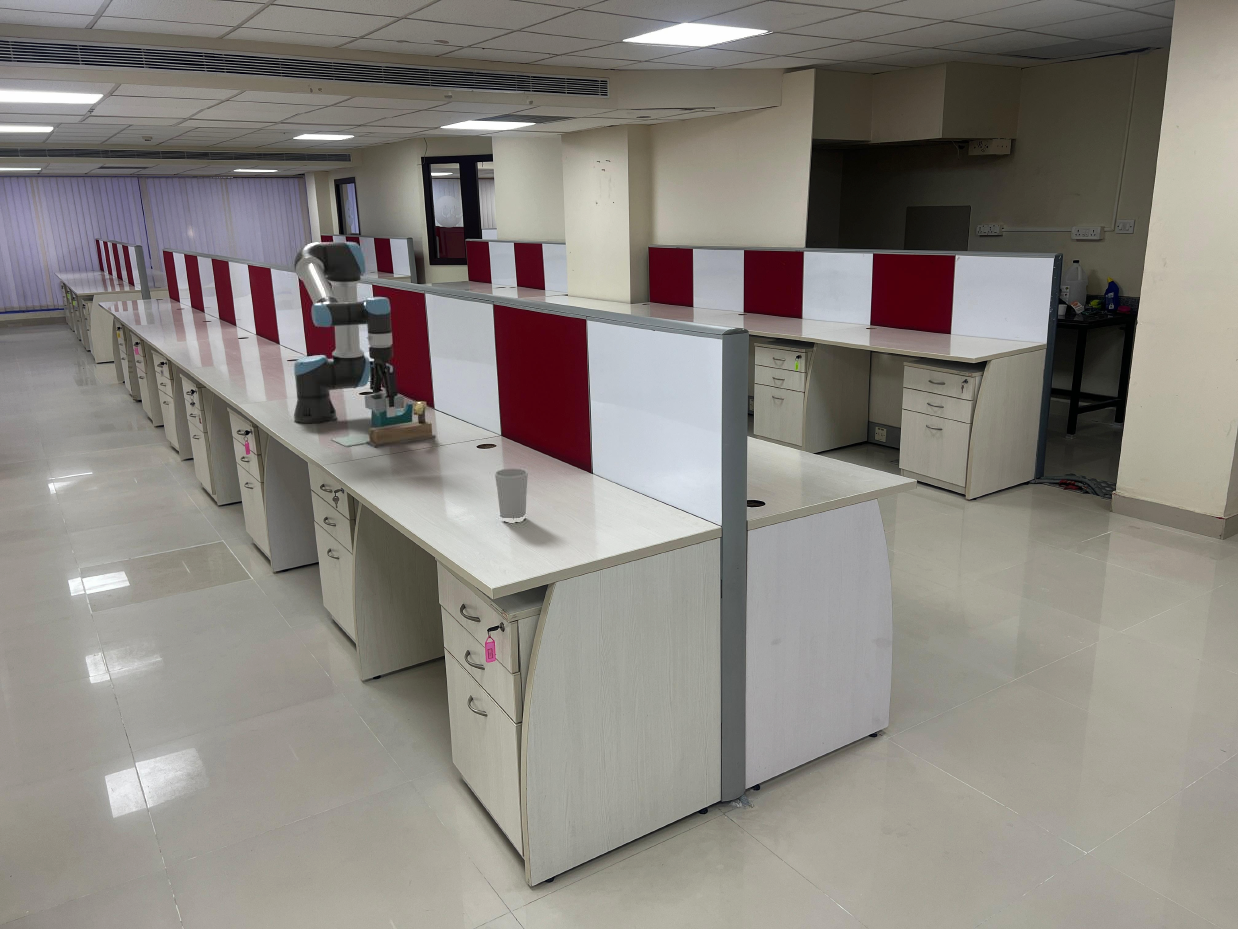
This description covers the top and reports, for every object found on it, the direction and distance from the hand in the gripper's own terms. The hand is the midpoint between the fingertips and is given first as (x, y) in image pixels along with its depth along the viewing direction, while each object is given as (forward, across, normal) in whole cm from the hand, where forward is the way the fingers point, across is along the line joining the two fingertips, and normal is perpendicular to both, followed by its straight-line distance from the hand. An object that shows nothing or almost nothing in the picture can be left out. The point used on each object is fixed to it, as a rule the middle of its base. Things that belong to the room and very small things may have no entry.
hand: (385, 414), depth 294 cm
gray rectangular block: (-2, 0, 0) cm, 2 cm away
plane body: (+10, +1, +5) cm, 11 cm away
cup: (+8, +95, -12) cm, 96 cm away
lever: (0, +4, +10) cm, 11 cm away
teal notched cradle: (+11, -19, +11) cm, 25 cm away
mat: (+10, -9, -7) cm, 15 cm away
